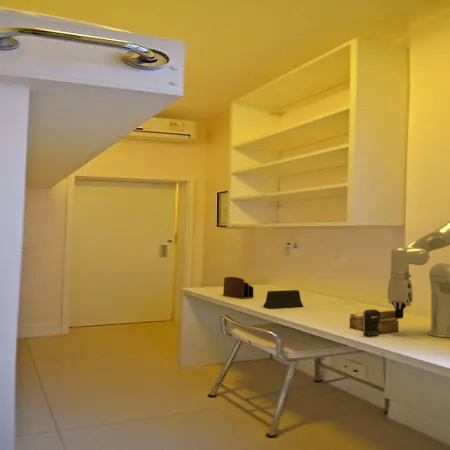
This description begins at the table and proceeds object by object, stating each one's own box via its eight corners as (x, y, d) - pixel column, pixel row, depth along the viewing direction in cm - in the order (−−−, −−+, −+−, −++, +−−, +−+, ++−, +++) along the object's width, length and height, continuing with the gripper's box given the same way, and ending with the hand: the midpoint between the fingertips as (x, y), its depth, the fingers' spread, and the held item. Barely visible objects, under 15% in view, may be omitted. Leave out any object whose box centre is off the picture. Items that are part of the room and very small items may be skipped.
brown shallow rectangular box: (398, 331, 222) (398, 320, 223) (380, 334, 216) (380, 323, 216) (367, 325, 237) (367, 315, 237) (349, 327, 230) (349, 317, 230)
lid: (397, 320, 223) (397, 310, 223) (379, 322, 216) (379, 312, 216) (368, 314, 237) (368, 305, 237) (350, 316, 230) (350, 307, 230)
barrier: (269, 309, 284) (270, 292, 284) (262, 307, 292) (262, 290, 292) (304, 307, 294) (304, 290, 294) (295, 305, 302) (296, 289, 302)
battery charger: (367, 337, 209) (367, 310, 209) (362, 335, 213) (362, 309, 213) (381, 336, 212) (381, 310, 212) (375, 334, 215) (375, 308, 215)
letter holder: (243, 299, 325) (243, 278, 325) (223, 296, 340) (223, 276, 340) (253, 298, 332) (253, 277, 332) (233, 295, 346) (233, 275, 347)
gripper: (420, 277, 211) (419, 320, 211) (391, 274, 223) (390, 315, 223) (409, 278, 207) (408, 321, 207) (380, 275, 219) (379, 316, 219)
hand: (399, 318), depth 215 cm, fingers closed
